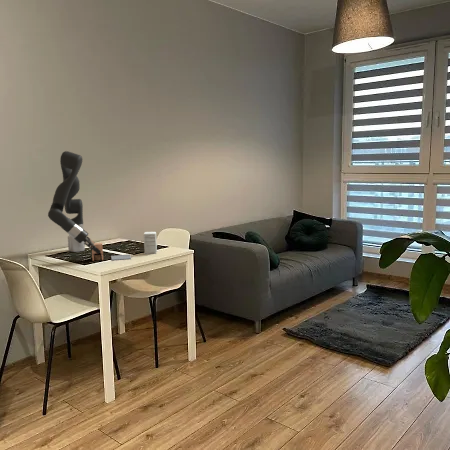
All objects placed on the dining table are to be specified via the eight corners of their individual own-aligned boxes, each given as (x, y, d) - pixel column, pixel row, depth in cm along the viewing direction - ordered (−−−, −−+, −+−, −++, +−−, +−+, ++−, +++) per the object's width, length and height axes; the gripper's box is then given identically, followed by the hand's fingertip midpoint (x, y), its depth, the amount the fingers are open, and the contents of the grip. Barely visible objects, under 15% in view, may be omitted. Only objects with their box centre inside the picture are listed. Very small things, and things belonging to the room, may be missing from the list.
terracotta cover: (92, 261, 263) (91, 244, 261) (92, 258, 268) (91, 243, 267) (103, 260, 264) (102, 244, 263) (103, 258, 270) (102, 242, 268)
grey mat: (111, 260, 263) (111, 259, 263) (111, 256, 273) (111, 255, 273) (131, 259, 266) (131, 258, 266) (129, 255, 276) (129, 254, 276)
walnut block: (95, 260, 264) (94, 255, 264) (95, 259, 267) (94, 254, 267) (100, 260, 265) (100, 255, 265) (100, 259, 268) (100, 254, 268)
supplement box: (145, 251, 287) (144, 231, 285) (157, 251, 288) (156, 231, 286) (144, 254, 280) (143, 233, 278) (156, 253, 280) (155, 233, 279)
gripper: (82, 230, 255) (104, 248, 259) (82, 226, 268) (103, 244, 273) (72, 240, 254) (95, 258, 259) (73, 236, 267) (95, 253, 272)
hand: (99, 251), depth 266 cm, fingers open, 8 cm apart
